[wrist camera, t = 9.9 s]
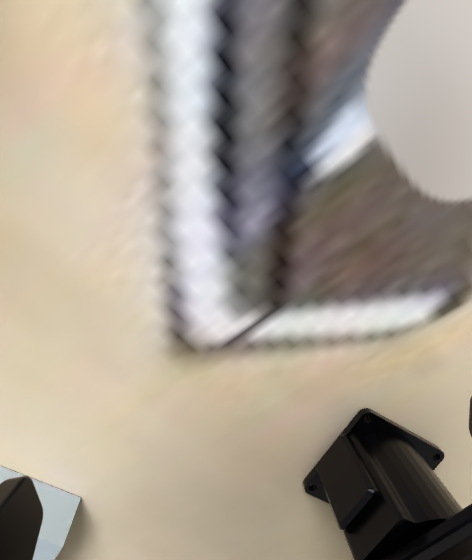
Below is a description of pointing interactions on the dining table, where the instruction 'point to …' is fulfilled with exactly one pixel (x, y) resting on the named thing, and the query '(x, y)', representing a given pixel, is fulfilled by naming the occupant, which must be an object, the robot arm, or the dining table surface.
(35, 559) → the frame
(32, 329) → the dining table surface
